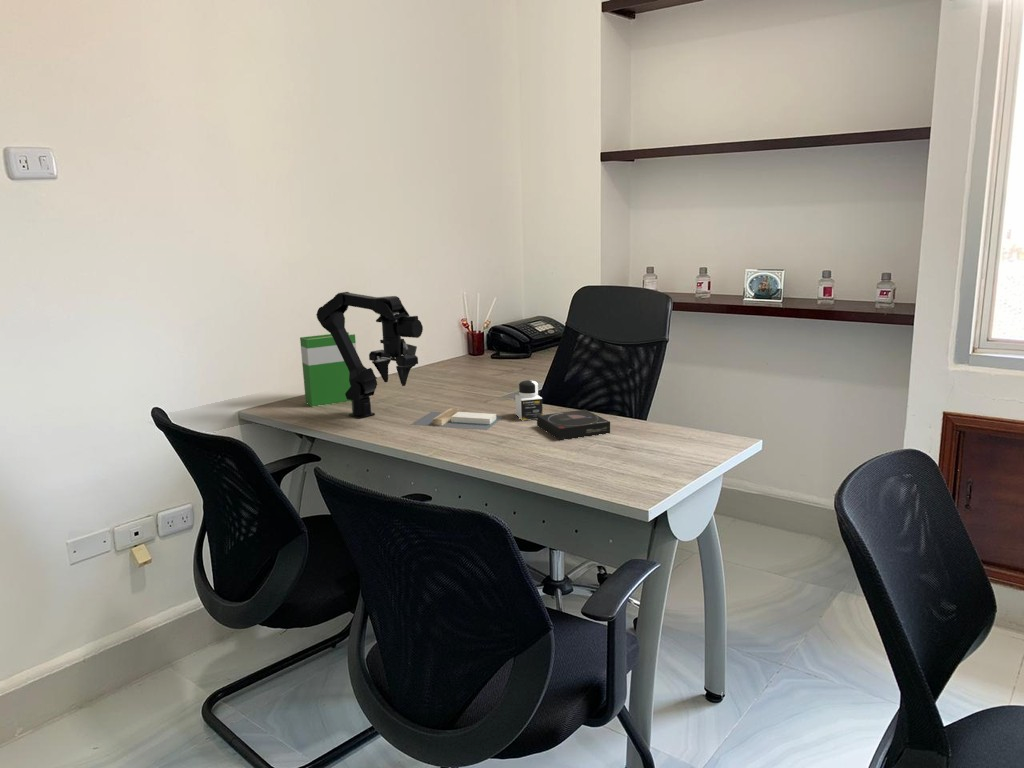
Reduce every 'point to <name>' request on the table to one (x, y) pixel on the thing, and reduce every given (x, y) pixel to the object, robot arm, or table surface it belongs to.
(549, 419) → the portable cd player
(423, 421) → the mat
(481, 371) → the table surface
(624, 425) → the table surface
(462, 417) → the tile
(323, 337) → the hardback book
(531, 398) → the medicine bottle
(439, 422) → the ledge
